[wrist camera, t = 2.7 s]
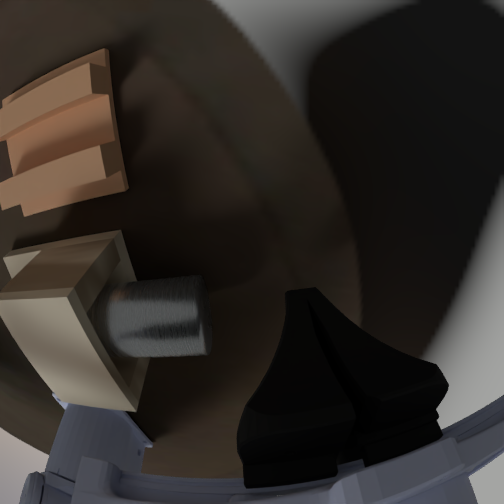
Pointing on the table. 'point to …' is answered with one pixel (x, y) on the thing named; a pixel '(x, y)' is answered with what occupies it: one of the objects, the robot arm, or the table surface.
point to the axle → (154, 318)
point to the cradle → (63, 138)
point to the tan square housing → (71, 318)
